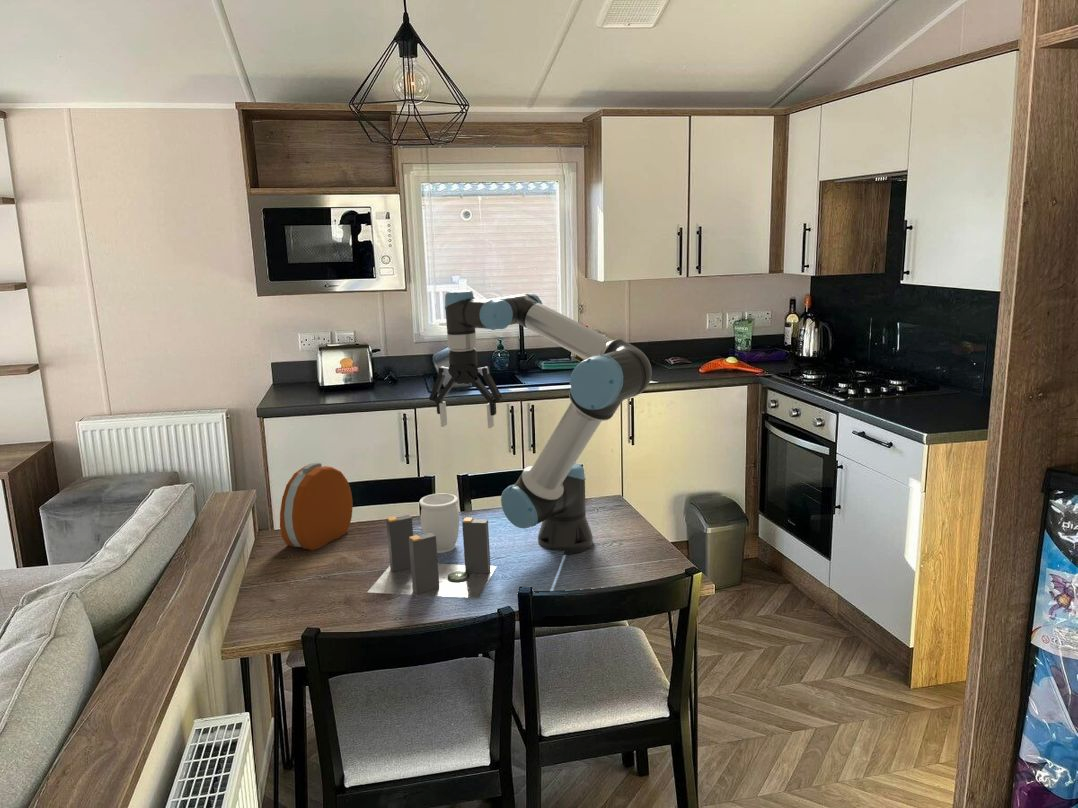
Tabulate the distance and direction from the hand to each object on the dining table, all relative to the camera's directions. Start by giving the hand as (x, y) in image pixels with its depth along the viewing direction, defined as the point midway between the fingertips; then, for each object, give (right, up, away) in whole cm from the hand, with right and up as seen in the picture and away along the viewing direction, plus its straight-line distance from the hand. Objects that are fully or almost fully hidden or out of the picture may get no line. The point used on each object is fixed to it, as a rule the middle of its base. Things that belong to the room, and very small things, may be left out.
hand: (467, 426), depth 222 cm
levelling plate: (-7, -39, -18) cm, 43 cm away
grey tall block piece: (+4, -36, -15) cm, 39 cm away
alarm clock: (-45, -33, +14) cm, 57 cm away
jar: (-7, -34, +2) cm, 35 cm away
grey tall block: (-16, -36, -11) cm, 41 cm away
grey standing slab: (-8, -39, -24) cm, 46 cm away
